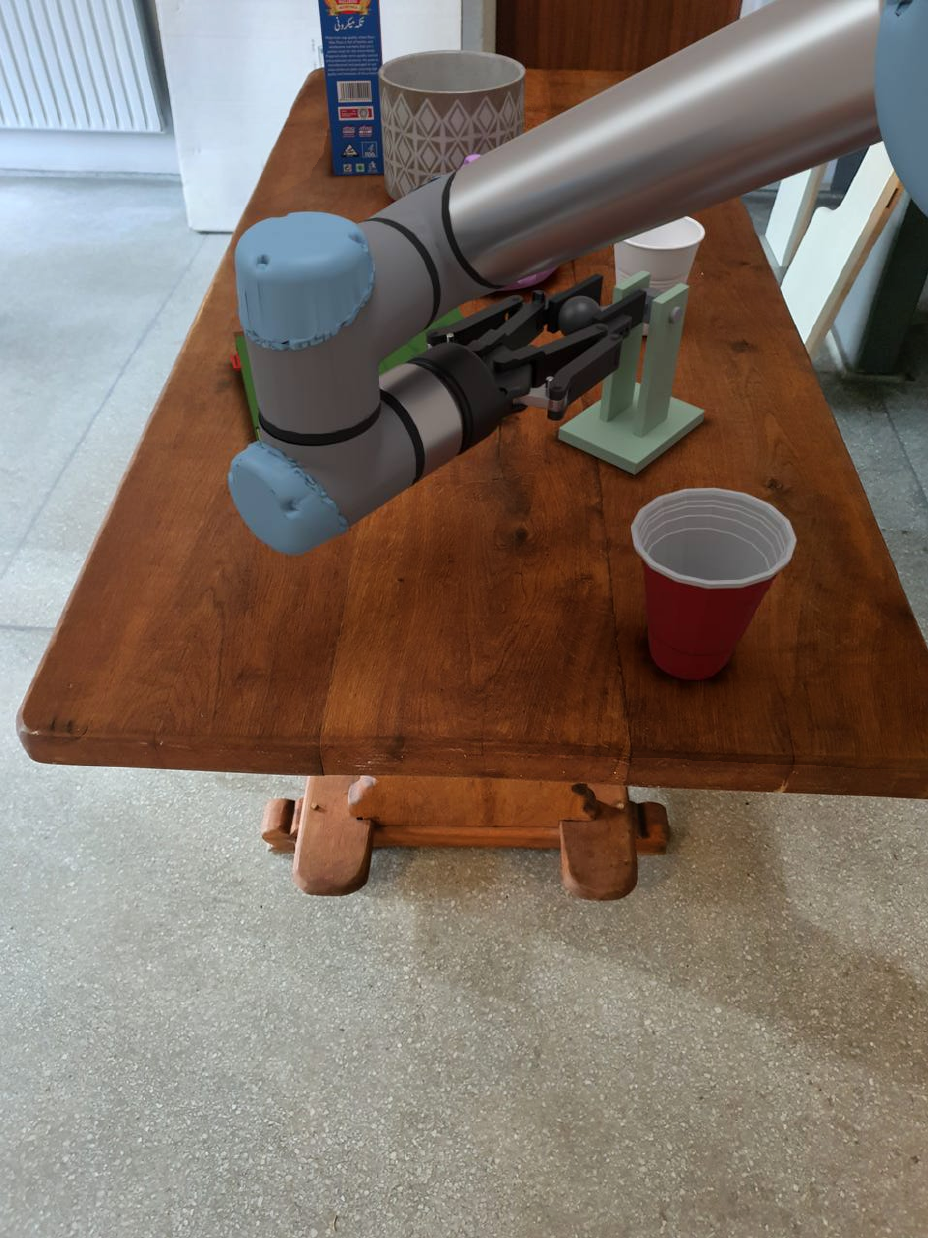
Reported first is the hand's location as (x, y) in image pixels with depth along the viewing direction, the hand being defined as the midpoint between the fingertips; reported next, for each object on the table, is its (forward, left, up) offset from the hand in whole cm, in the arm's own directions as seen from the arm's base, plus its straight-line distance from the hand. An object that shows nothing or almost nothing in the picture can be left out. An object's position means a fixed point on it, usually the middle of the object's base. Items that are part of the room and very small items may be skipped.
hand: (618, 297), depth 79 cm
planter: (+44, -48, -16) cm, 67 cm away
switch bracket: (-1, -5, -16) cm, 16 cm away
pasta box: (+68, -61, -16) cm, 93 cm away
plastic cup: (-16, +21, -16) cm, 31 cm away
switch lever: (0, +1, -3) cm, 3 cm away
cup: (+6, -26, -16) cm, 31 cm away
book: (+26, +2, -16) cm, 30 cm away
